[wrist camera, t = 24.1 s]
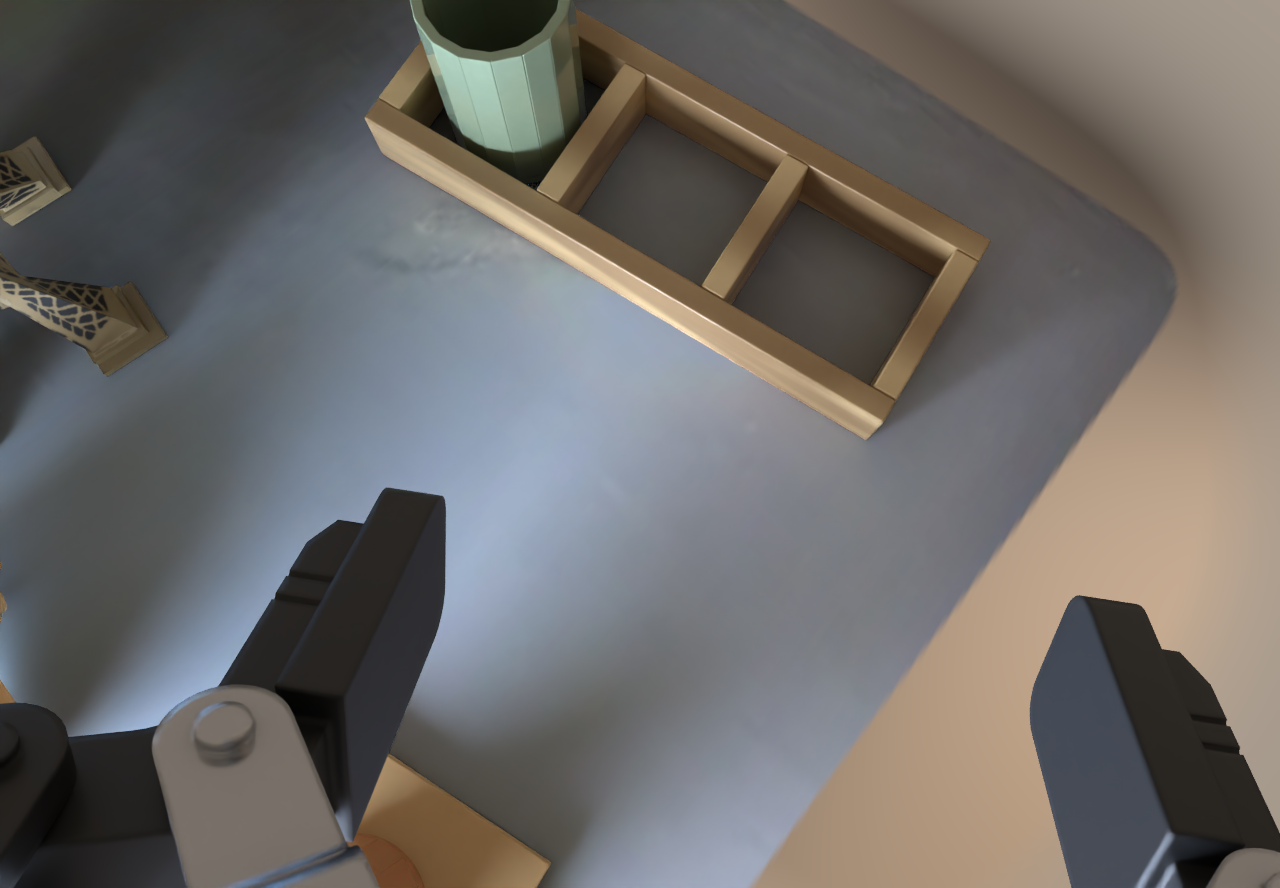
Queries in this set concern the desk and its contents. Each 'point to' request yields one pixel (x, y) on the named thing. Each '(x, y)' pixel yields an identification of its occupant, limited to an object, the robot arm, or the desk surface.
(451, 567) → the desk surface
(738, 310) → the pod rack
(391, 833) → the coaster
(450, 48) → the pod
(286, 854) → the robot arm
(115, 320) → the eiffel tower
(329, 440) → the desk surface
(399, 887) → the brown cylindrical cup
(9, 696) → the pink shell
